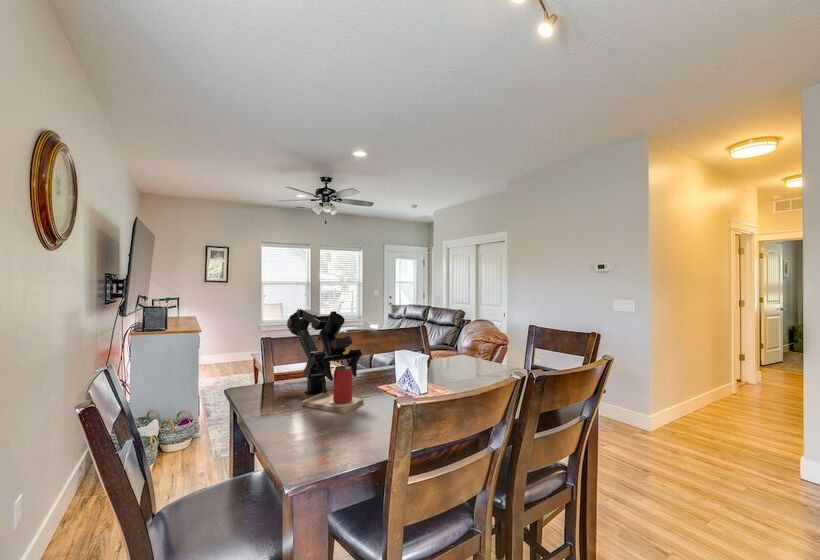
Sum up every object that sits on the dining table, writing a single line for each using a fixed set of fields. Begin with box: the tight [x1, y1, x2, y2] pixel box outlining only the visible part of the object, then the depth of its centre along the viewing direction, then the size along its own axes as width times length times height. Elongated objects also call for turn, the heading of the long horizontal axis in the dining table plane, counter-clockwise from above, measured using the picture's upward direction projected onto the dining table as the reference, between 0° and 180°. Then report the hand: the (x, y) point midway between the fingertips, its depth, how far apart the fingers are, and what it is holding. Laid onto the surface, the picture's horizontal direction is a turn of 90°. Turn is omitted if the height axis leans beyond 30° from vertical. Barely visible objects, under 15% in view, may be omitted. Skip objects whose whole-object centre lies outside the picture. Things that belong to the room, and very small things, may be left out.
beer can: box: [332, 365, 354, 404], centre depth 137 cm, size 7×7×12 cm
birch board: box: [301, 392, 364, 414], centre depth 139 cm, size 18×12×2 cm, turn 66°
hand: (344, 378), depth 137 cm, fingers open, 9 cm apart
